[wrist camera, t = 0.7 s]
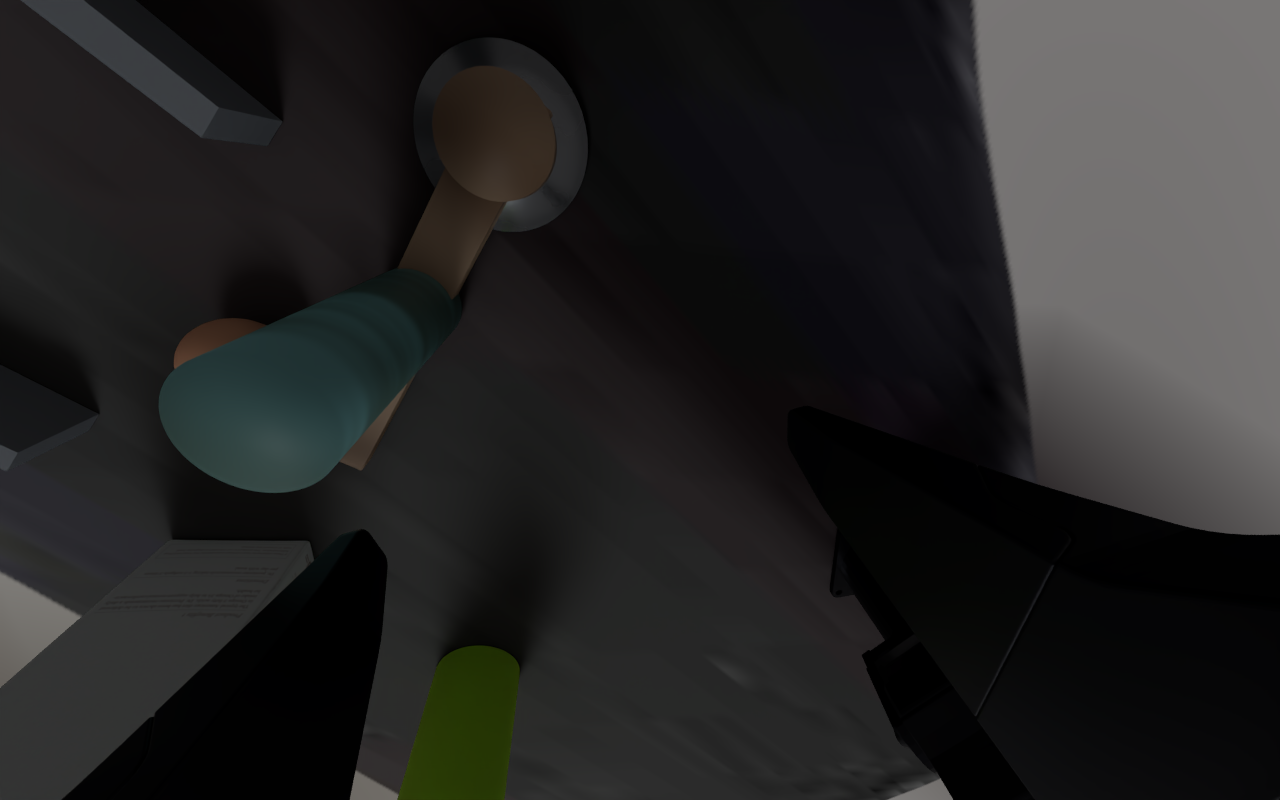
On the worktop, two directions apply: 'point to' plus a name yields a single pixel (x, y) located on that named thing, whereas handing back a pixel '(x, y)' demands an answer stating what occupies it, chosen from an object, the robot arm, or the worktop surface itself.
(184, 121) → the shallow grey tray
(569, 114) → the pivot base
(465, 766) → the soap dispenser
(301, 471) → the lever
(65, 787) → the supplement box
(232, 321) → the ball
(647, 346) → the worktop surface
